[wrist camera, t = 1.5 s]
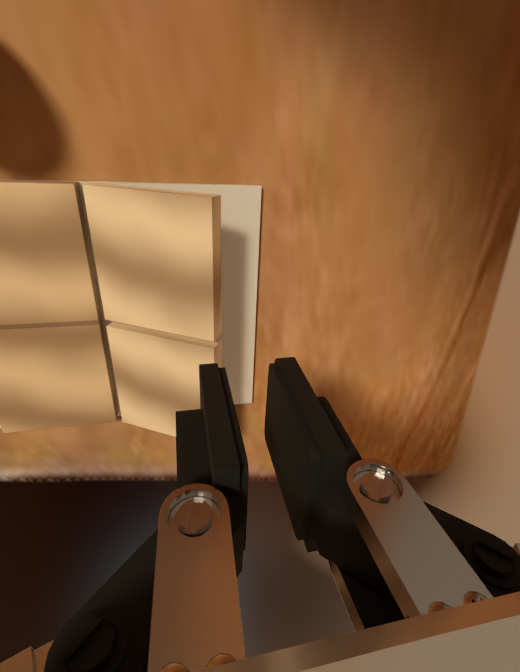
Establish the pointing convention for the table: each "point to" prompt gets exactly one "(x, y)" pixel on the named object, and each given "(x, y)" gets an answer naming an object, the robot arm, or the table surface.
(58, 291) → the row
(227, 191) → the underlay mat
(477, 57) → the table surface
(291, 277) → the table surface
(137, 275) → the plank near
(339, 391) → the table surface
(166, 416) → the plank far
